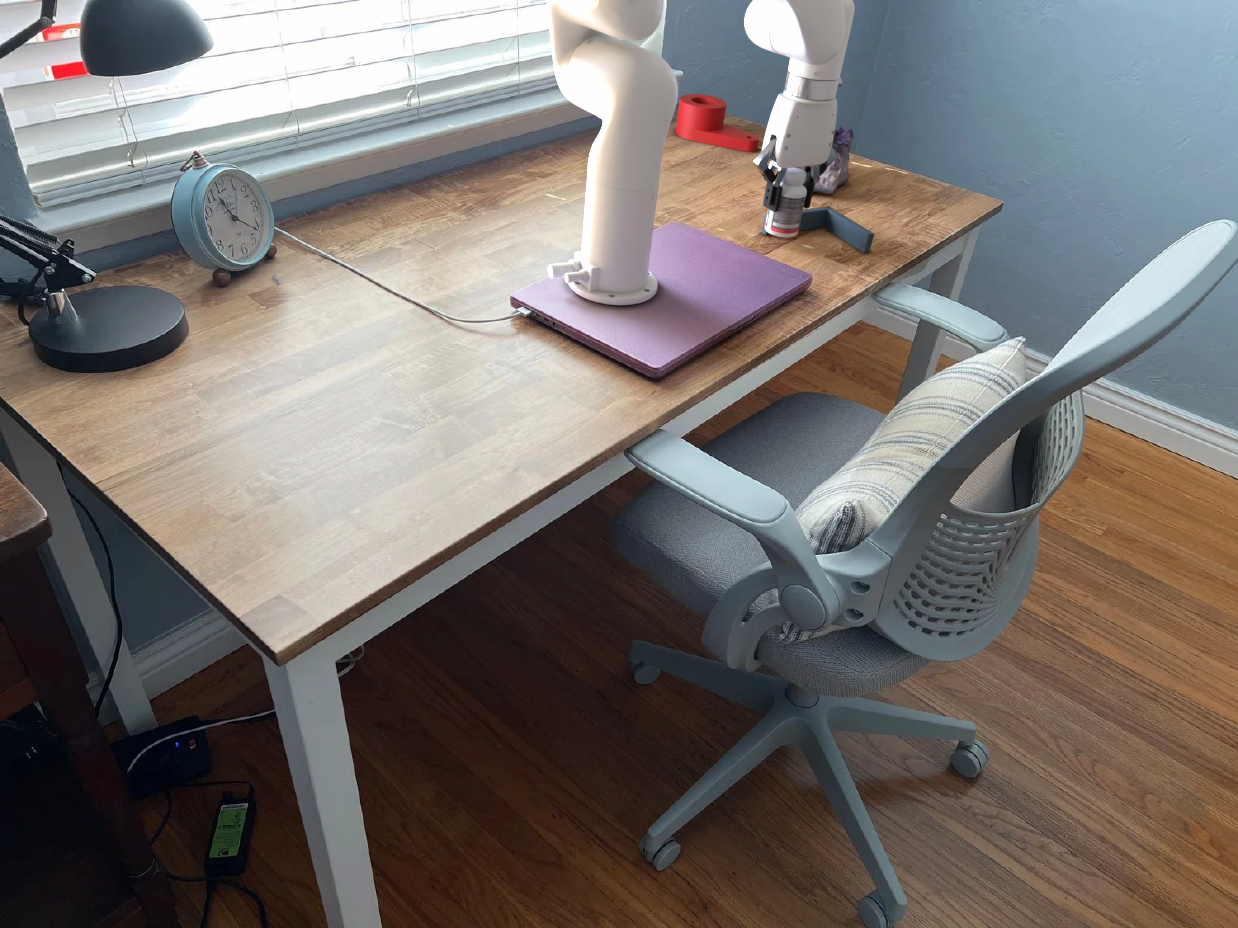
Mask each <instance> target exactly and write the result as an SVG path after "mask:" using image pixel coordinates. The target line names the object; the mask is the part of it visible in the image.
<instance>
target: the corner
mask: <svg viewBox="0 0 1238 928" xmlns="http://www.w3.org/2000/svg"><path fill="white" fill-rule="evenodd" d="M766 217H767V213H765V214H764V219H763V224H762V229H761V234H763V235H765V236H771V235H772V234H770V233H768V232H767V231H766V230H765V223H766ZM816 229H825V230H826V231H828V232H830V233H831V234H832V235H835V236H836V237H838V238H839V239H841V240H843V241H844V242H846V243H847V244H849V245H850V246H852V247H853V248H855V249H857V250H858V251H860V252H861V253H863V254H867V253H870V252H871V248H872V244H873V241H874V237H875V233H874V232H872V231H871V230H869V229H868V228H866V227H865V226H863V225H861V224H859V223H858V222H856V221H854V220H853V219H851V218H849V217H847V216H846V215H844V214H843V213H841V212H839V211H838V210H836V209H834V208H833V207H831V206H829V205H827V206H820V207H813V208H803V212H802V217H801V221H800V226H799V230H798V232H801V231H809V230H816ZM772 236H773V235H772Z"/></svg>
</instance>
